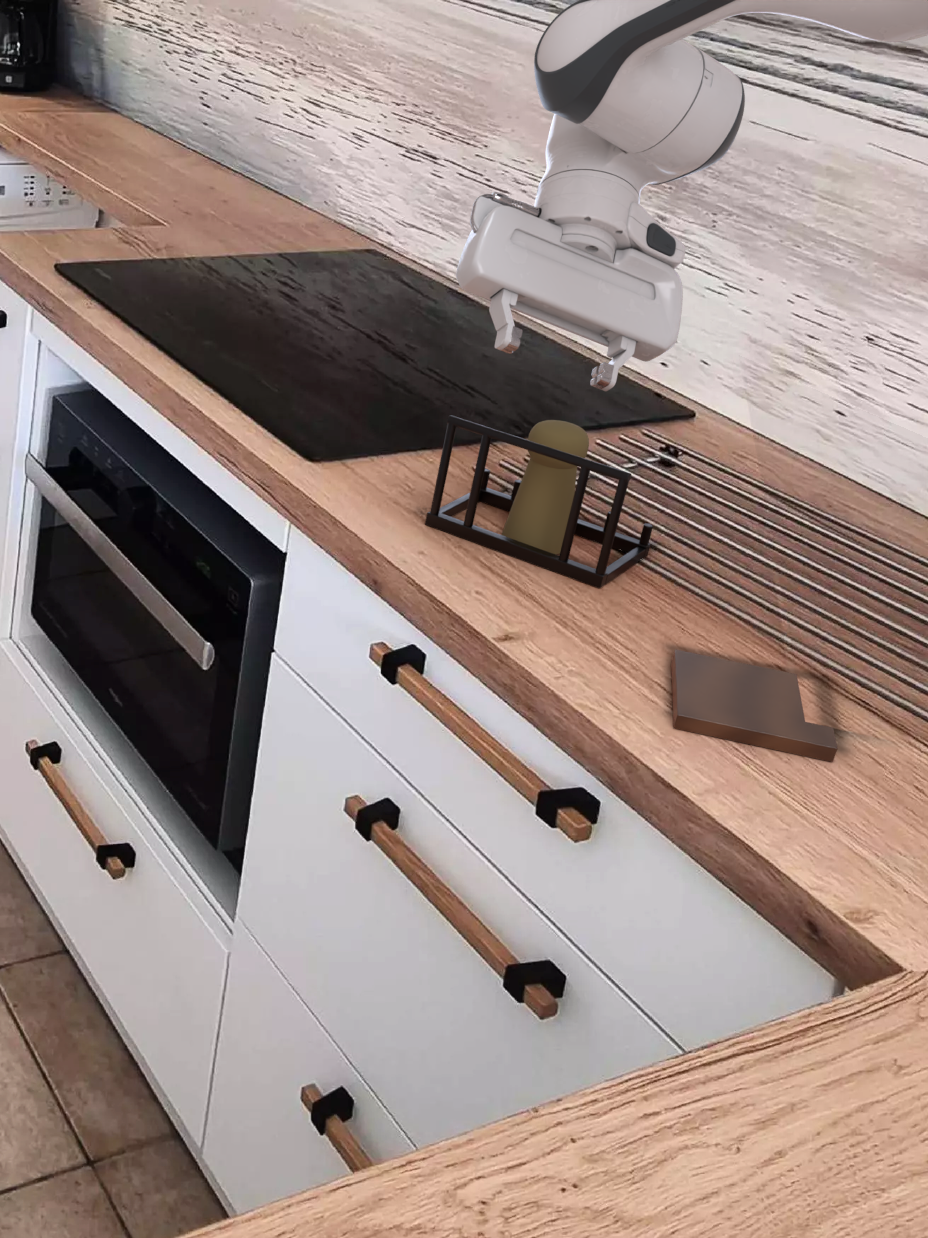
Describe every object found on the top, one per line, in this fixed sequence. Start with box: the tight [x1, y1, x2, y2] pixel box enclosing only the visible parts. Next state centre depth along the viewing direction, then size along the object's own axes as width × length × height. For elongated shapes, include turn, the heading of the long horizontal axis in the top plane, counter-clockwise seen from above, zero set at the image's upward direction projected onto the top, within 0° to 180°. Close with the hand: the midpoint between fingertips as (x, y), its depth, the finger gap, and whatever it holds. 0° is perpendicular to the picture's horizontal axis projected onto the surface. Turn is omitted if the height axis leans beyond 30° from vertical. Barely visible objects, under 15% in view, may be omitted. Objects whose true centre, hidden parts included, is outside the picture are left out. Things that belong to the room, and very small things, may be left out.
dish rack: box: [424, 415, 654, 589], centre depth 147 cm, size 10×17×10 cm, turn 51°
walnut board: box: [670, 649, 838, 763], centre depth 124 cm, size 11×11×1 cm
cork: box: [501, 419, 590, 555], centre depth 147 cm, size 6×6×11 cm
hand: (554, 368), depth 142 cm, fingers open, 8 cm apart
